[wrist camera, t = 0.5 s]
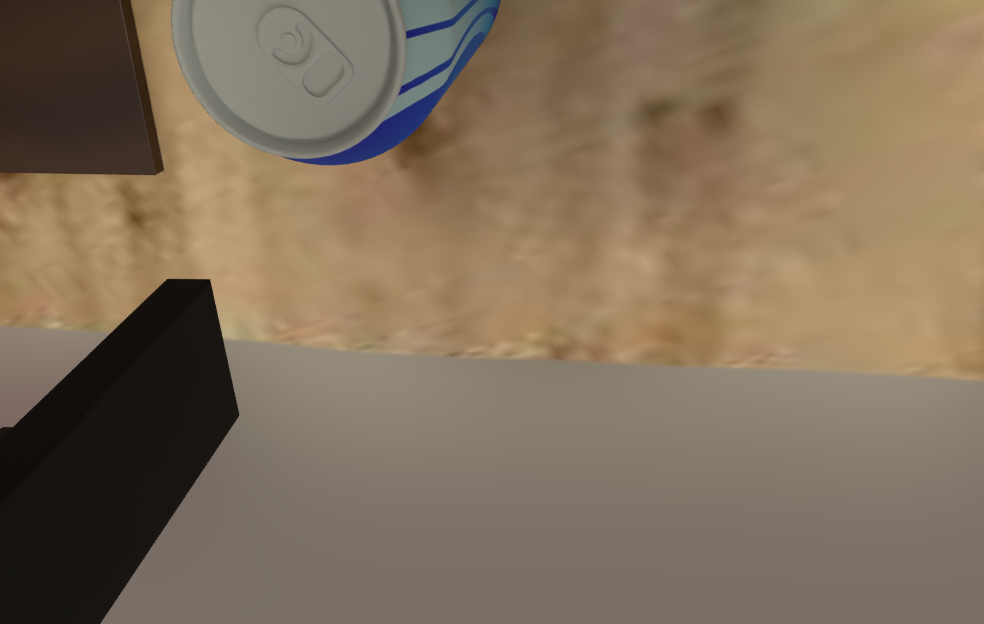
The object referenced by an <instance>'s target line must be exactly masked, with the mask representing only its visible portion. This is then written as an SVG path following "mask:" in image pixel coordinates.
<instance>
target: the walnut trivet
mask: <svg viewBox="0 0 984 624" xmlns="http://www.w3.org/2000/svg"><path fill="white" fill-rule="evenodd" d="M162 171H163V166H162V161H161V156H160V151H159V146H158V141H157V136H156V131H155V126H154V121H153V116H152V111H151V106H150V101H149V96H148V91H147V86H146V81H145V76H144V71H143V66H142V61H141V56H140V51H139V46H138V41H137V36H136V31H135V26H134V21H133V16H132V11H131V6H130V1H129V0H0V172H1V173H60V174H118V175H157V174H159V173H160V172H162Z"/></svg>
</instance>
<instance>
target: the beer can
mask: <svg viewBox="0 0 984 624" xmlns="http://www.w3.org/2000/svg"><path fill="white" fill-rule="evenodd" d="M499 5H500V0H173V1H172V11H171V26H172V37H173V42H174V48H175V52H176V56H177V59H178V62H179V65H180V68H181V70H182V73H183V75H184V77H185V79H186V81H187V83H188V85H189V87H190V89H191V90H192V92H193V94H194V95H195V97H196V98H197V100H198V101H199V103H200V104H201V105H202V107H203V108H204V109H205V110H206V111H207V113H208V114H209V115H210V116H211V117H212V118H213V119H214V120H215V121H216V122H217V123H218V124H219V125H220V126H222V127H223V128H224V129H225V130H226V131H228V132H229V133H230V134H232V135H233V136H234V137H236V138H238V139H239V140H241V141H242V142H244V143H246V144H248V145H250V146H252V147H254V148H256V149H259V150H261V151H264V152H267V153H270V154H273V155H277V156H281V157H284V158H287V159H290V160H294V161H298V162H303V163H308V164H317V165H342V164H350V163H355V162H360V161H363V160H367V159H370V158H373V157H375V156H377V155H380V154H382V153H384V152H386V151H388V150H390V149H391V148H393V147H395V146H396V145H398V144H399V143H400V142H402V141H403V140H405V139H406V138H407V137H408V136H410V135H411V134H412V133H413V132H414V131H415V130H416V129H417V128H418V127H419V126H420V125H421V124H422V123H423V122H424V120H425V119H426V118H427V116H428V115H429V114H430V112H431V111H432V110H433V108H434V107H435V106H436V104H437V103H438V102H439V100H440V99H441V98H442V96H443V95H444V93H445V92H446V91H447V89H448V88H449V87H450V85H451V84H452V83H453V81H454V80H455V79H456V77H457V76H458V75H459V73H460V72H461V70H462V69H463V68H464V66H465V65H466V64H467V62H468V61H469V60H470V58H471V57H472V56H473V54H474V53H475V52H476V50H477V49H478V47H479V46H480V45H481V43H482V42H483V41H484V39H485V38H486V36H487V34H488V33H489V31H490V29H491V27H492V25H493V23H494V21H495V18H496V15H497V12H498V9H499Z"/></svg>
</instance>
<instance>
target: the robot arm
mask: <svg viewBox="0 0 984 624" xmlns="http://www.w3.org/2000/svg"><path fill="white" fill-rule="evenodd" d="M238 417H239V411H238V407H237V402H236V397H235V393H234V388H233V383H232V379H231V374H230V370H229V365H228V360H227V356H226V352H225V347H224V342H223V337H222V332H221V328H220V323H219V319H218V314H217V309H216V305H215V300H214V295H213V291H212V286H211V282H210V279H167V280H166V281H165V282H164V283H163V284H162V285H161V286H159V287H158V288H157V289H156V290H155V291H154V292H153V293H152V294H151V295H150V296H149V297H148V298H147V299H146V300H145V301H144V302H143V303H142V304H141V305H140V306H139V307H138V308H137V309H136V310H134V311H133V312H132V313H131V314H130V315H129V316H128V317H127V318H126V319H125V320H124V321H123V322H122V323H121V324H120V325H119V326H118V327H117V328H116V329H115V330H114V331H113V332H112V333H111V334H109V335H108V336H107V338H105V339H104V340H103V341H102V342H101V343H100V344H99V345H98V346H97V347H96V348H95V349H94V350H93V351H92V352H91V353H90V354H89V355H88V356H87V357H86V358H85V359H84V360H82V361H81V362H80V363H79V364H78V365H77V366H76V367H75V368H74V369H73V370H72V371H71V372H70V373H69V374H68V375H67V376H66V377H65V378H64V379H63V380H62V381H61V382H60V383H58V384H57V385H56V386H55V387H54V388H53V389H52V390H51V391H50V392H49V393H48V394H47V395H46V396H45V397H44V398H43V399H42V400H41V401H40V402H39V403H38V404H37V405H36V406H35V407H33V408H32V409H31V410H30V411H29V412H28V413H27V414H26V415H25V416H24V417H23V418H22V419H21V420H20V421H19V422H18V423H17V424H16V425H15V426H14V427H3V428H1V429H0V624H100V623H101V622H102V620H103V619H104V617H105V616H106V614H107V613H108V611H109V610H110V608H111V607H112V605H113V604H114V602H115V601H116V599H117V598H118V596H119V595H120V593H121V592H122V590H123V589H124V587H125V586H126V584H127V583H128V581H129V580H130V578H131V577H132V575H133V574H134V572H135V571H136V569H137V568H138V566H139V565H140V563H141V562H142V560H143V559H144V557H145V556H146V554H147V553H148V551H149V550H150V548H151V547H152V545H153V544H154V543H155V541H156V539H157V538H158V537H159V535H160V534H161V532H162V531H163V529H164V528H165V526H166V525H167V523H168V522H169V520H170V518H171V517H172V516H173V514H174V513H175V511H176V510H177V508H178V507H179V505H180V504H181V502H182V501H183V499H184V498H185V496H186V495H187V493H188V492H189V490H190V489H191V487H192V486H193V484H194V483H195V481H196V479H197V478H198V476H199V475H200V474H201V472H202V470H203V469H204V468H205V466H206V465H207V463H208V462H209V460H210V459H211V457H212V456H213V454H214V453H215V451H216V449H217V448H218V447H219V445H220V444H221V442H222V440H223V439H224V437H225V436H226V435H227V433H228V432H229V430H230V429H231V427H232V426H233V424H234V423H235V421H236V419H237V418H238Z"/></svg>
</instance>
